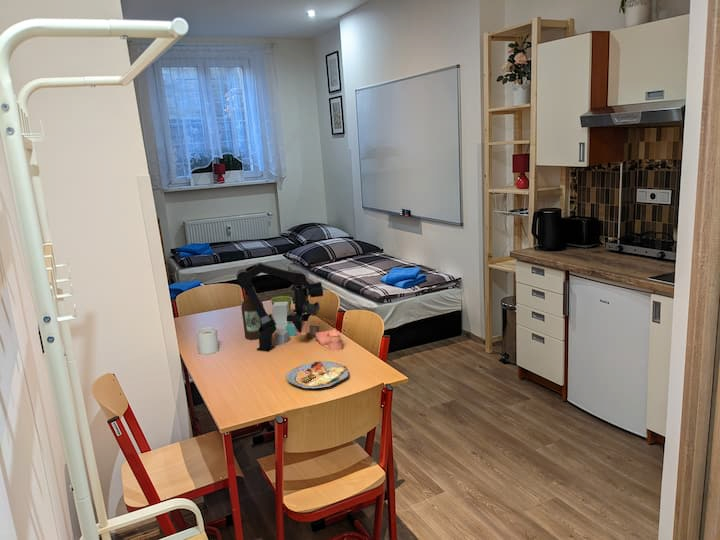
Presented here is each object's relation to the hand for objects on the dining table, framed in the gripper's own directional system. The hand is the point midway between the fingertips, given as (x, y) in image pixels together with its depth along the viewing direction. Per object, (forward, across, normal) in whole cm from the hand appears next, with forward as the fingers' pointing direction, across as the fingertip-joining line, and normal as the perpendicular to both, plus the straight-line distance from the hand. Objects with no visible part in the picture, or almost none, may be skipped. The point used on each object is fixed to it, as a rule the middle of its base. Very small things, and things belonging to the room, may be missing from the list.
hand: (302, 330), depth 258 cm
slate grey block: (+7, 0, +11) cm, 13 cm away
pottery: (+7, +3, -13) cm, 15 cm away
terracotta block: (+1, 0, 0) cm, 1 cm away
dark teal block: (+7, +11, +11) cm, 17 cm away
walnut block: (+7, +11, 0) cm, 13 cm away
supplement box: (+7, +20, +22) cm, 31 cm away
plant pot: (+7, +32, +28) cm, 43 cm away
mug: (+7, -19, +39) cm, 44 cm away
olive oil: (+7, +3, +28) cm, 29 cm away
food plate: (+7, -33, -23) cm, 41 cm away
